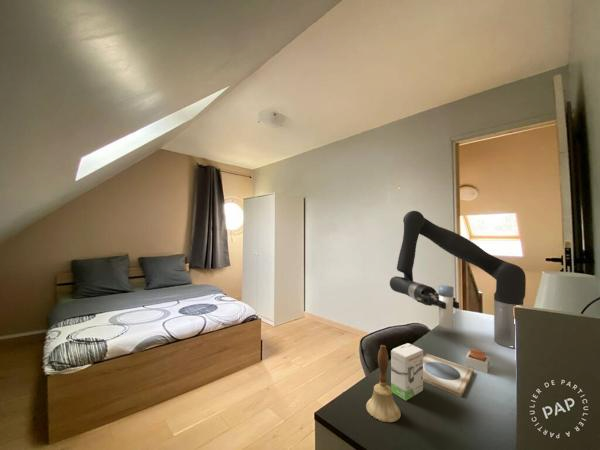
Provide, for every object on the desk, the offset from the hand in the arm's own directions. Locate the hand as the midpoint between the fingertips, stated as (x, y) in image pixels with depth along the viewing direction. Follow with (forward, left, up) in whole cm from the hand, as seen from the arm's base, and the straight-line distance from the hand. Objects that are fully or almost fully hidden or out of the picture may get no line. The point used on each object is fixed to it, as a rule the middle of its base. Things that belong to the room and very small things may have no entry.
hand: (451, 305), depth 84 cm
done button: (-8, +1, -17) cm, 19 cm away
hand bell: (+30, +24, -20) cm, 43 cm away
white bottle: (0, -3, -8) cm, 8 cm away
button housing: (-8, +1, -20) cm, 22 cm away
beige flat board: (+7, +6, -20) cm, 22 cm away
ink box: (+21, +16, -20) cm, 33 cm away
